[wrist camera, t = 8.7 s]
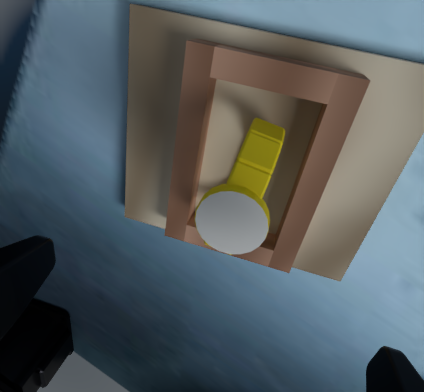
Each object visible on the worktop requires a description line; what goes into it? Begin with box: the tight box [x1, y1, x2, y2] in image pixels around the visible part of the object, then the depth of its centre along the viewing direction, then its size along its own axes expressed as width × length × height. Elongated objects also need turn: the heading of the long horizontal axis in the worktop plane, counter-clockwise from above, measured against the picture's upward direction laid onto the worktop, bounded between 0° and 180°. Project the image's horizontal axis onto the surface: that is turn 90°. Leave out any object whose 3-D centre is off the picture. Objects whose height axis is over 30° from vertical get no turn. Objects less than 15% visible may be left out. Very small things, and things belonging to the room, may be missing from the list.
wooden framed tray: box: [125, 4, 424, 281], centre depth 16 cm, size 14×12×2 cm
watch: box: [194, 118, 285, 255], centre depth 14 cm, size 6×3×6 cm, turn 162°
